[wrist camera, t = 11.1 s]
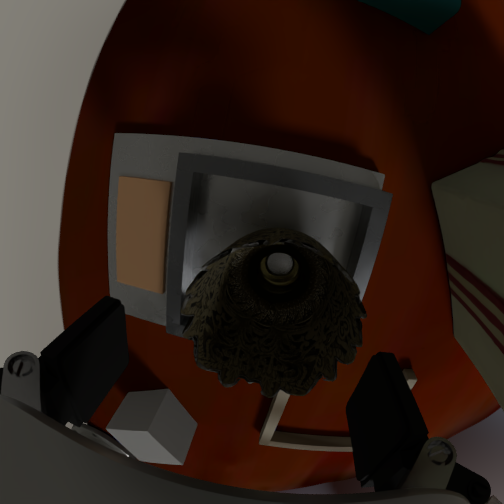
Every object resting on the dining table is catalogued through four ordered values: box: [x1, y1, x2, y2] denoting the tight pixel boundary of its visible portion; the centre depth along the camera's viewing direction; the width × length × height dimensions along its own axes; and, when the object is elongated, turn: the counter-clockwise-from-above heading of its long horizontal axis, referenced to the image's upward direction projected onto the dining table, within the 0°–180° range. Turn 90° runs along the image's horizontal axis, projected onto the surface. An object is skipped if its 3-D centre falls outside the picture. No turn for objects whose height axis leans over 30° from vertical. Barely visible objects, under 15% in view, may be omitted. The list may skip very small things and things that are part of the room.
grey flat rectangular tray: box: [108, 133, 393, 340], centre depth 18 cm, size 14×18×3 cm
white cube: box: [106, 389, 197, 465], centre depth 23 cm, size 6×6×6 cm
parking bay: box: [259, 369, 417, 452], centre depth 22 cm, size 12×12×2 cm
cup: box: [180, 227, 367, 398], centre depth 14 cm, size 7×7×8 cm
